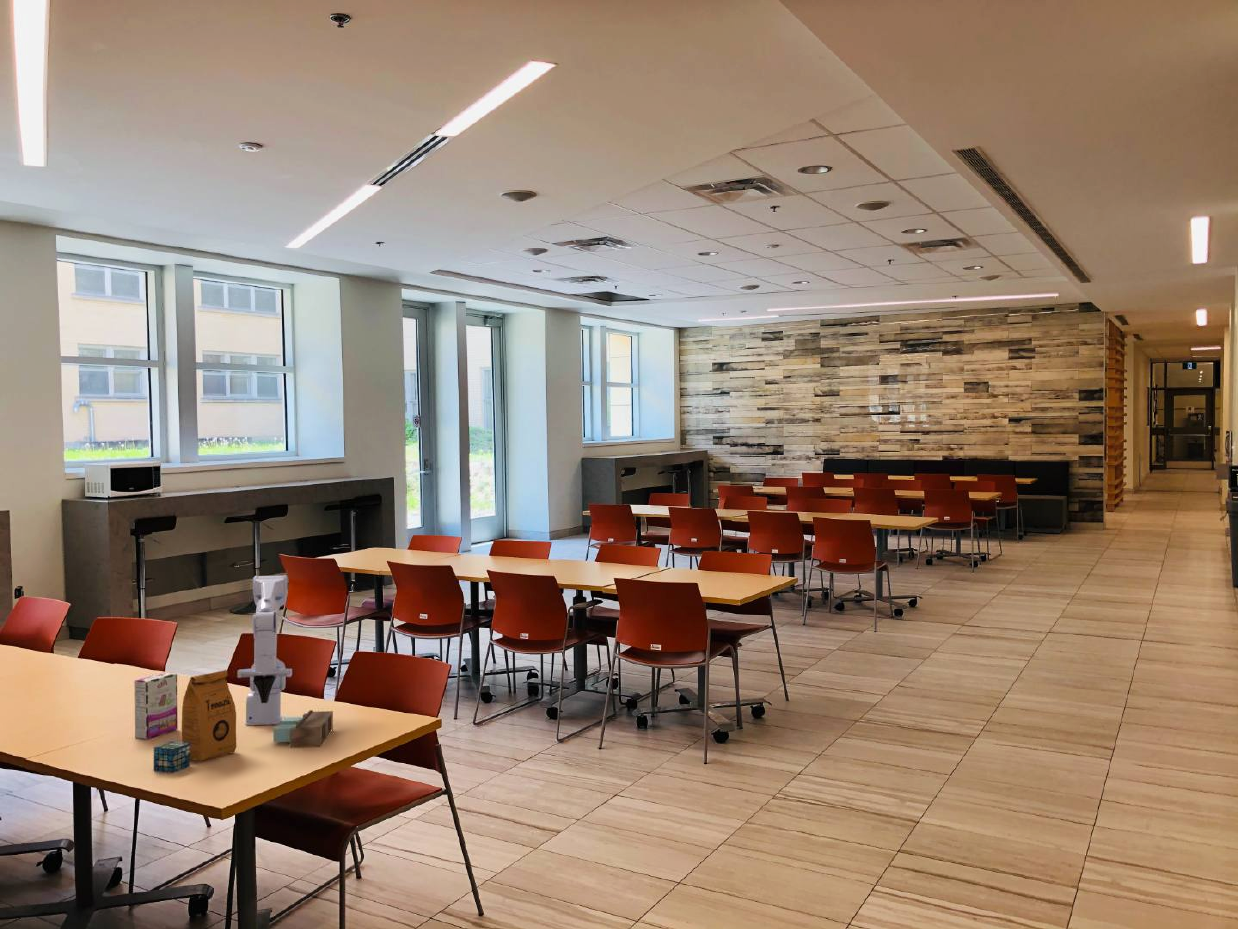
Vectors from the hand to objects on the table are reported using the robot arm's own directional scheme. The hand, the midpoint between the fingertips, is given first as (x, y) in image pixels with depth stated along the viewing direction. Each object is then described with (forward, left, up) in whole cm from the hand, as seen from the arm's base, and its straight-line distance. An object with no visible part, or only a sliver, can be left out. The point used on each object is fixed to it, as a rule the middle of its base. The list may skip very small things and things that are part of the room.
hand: (264, 702), depth 273 cm
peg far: (+9, 0, -9) cm, 13 cm away
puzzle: (-15, -29, -10) cm, 34 cm away
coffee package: (-9, -19, -10) cm, 23 cm away
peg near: (+9, -8, -9) cm, 15 cm away
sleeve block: (+14, -4, -9) cm, 17 cm away
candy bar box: (-31, +4, -10) cm, 33 cm away
